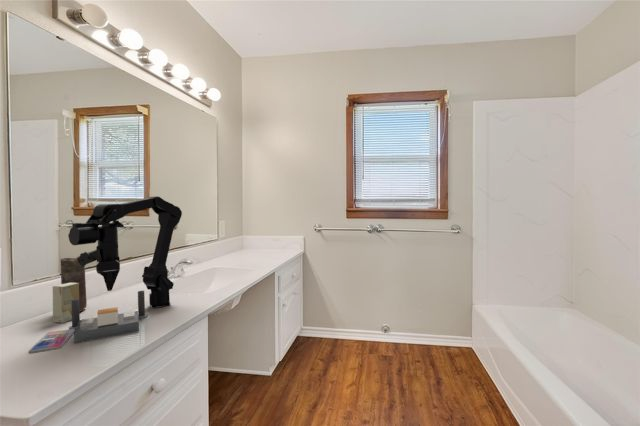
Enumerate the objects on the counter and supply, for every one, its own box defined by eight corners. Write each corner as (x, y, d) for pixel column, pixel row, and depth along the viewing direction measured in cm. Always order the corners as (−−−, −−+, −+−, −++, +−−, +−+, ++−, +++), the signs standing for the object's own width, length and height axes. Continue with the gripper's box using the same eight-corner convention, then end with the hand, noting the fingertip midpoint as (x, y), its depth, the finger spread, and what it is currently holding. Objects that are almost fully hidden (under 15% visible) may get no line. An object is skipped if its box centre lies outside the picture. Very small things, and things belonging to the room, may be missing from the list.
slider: (118, 319, 99) (117, 307, 99) (117, 322, 97) (117, 309, 97) (98, 323, 97) (98, 310, 97) (97, 326, 94) (97, 312, 94)
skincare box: (62, 323, 107) (61, 286, 107) (52, 322, 108) (51, 286, 108) (80, 316, 113) (79, 282, 113) (70, 316, 114) (69, 281, 114)
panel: (138, 319, 109) (137, 308, 109) (139, 331, 99) (138, 318, 99) (79, 329, 101) (79, 317, 101) (74, 343, 90) (73, 330, 90)
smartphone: (77, 328, 101) (61, 346, 87) (77, 331, 101) (61, 350, 87) (47, 331, 98) (26, 351, 84) (47, 335, 98) (26, 355, 84)
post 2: (147, 314, 114) (146, 289, 114) (147, 317, 111) (147, 291, 111) (135, 316, 112) (134, 291, 112) (135, 319, 109) (135, 293, 109)
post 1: (83, 325, 105) (83, 297, 105) (82, 328, 102) (81, 300, 102) (70, 327, 103) (69, 299, 103) (67, 330, 100) (67, 302, 100)
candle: (65, 309, 122) (64, 257, 121) (89, 307, 125) (87, 255, 124) (58, 315, 115) (56, 260, 114) (83, 312, 118) (81, 258, 117)
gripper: (80, 241, 111) (82, 286, 111) (74, 246, 95) (77, 298, 96) (118, 238, 117) (120, 281, 117) (118, 243, 101) (120, 292, 102)
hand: (109, 287), depth 108 cm, fingers open, 9 cm apart
